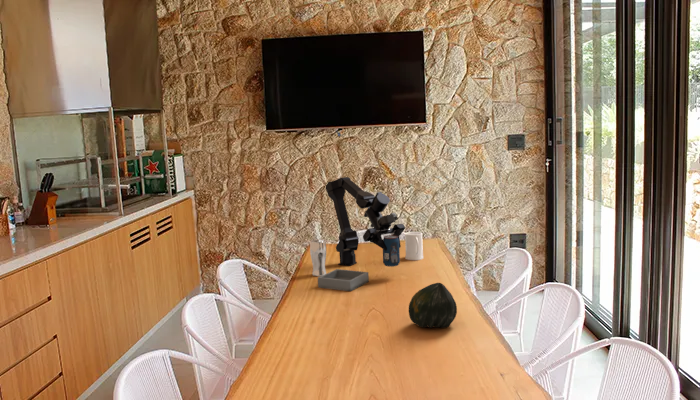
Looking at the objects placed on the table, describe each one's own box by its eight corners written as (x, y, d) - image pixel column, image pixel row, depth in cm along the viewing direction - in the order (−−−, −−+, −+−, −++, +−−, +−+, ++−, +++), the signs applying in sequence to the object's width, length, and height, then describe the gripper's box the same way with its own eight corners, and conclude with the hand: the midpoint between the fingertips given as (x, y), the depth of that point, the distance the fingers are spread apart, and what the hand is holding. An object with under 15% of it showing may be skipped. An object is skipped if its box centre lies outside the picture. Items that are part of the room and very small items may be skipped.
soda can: (389, 262, 261) (388, 234, 259) (403, 264, 256) (402, 235, 255) (379, 265, 255) (378, 237, 254) (393, 267, 251) (392, 238, 249)
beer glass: (328, 272, 270) (326, 238, 268) (326, 276, 263) (324, 242, 261) (312, 272, 271) (311, 239, 269) (310, 276, 264) (308, 242, 262)
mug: (426, 261, 284) (425, 235, 282) (407, 262, 283) (407, 236, 282) (421, 255, 295) (421, 231, 294) (404, 256, 295) (403, 231, 293)
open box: (318, 287, 247) (317, 277, 247) (337, 278, 260) (336, 269, 259) (350, 291, 240) (350, 281, 239) (368, 281, 253) (368, 272, 252)
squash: (398, 303, 204) (412, 277, 193) (438, 299, 209) (454, 273, 198) (412, 341, 195) (428, 316, 184) (454, 336, 200) (471, 311, 189)
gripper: (365, 209, 251) (382, 240, 243) (402, 204, 261) (419, 234, 253) (355, 226, 258) (371, 256, 251) (391, 220, 269) (407, 249, 261)
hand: (393, 248), depth 254 cm, fingers closed on soda can, 7 cm apart
